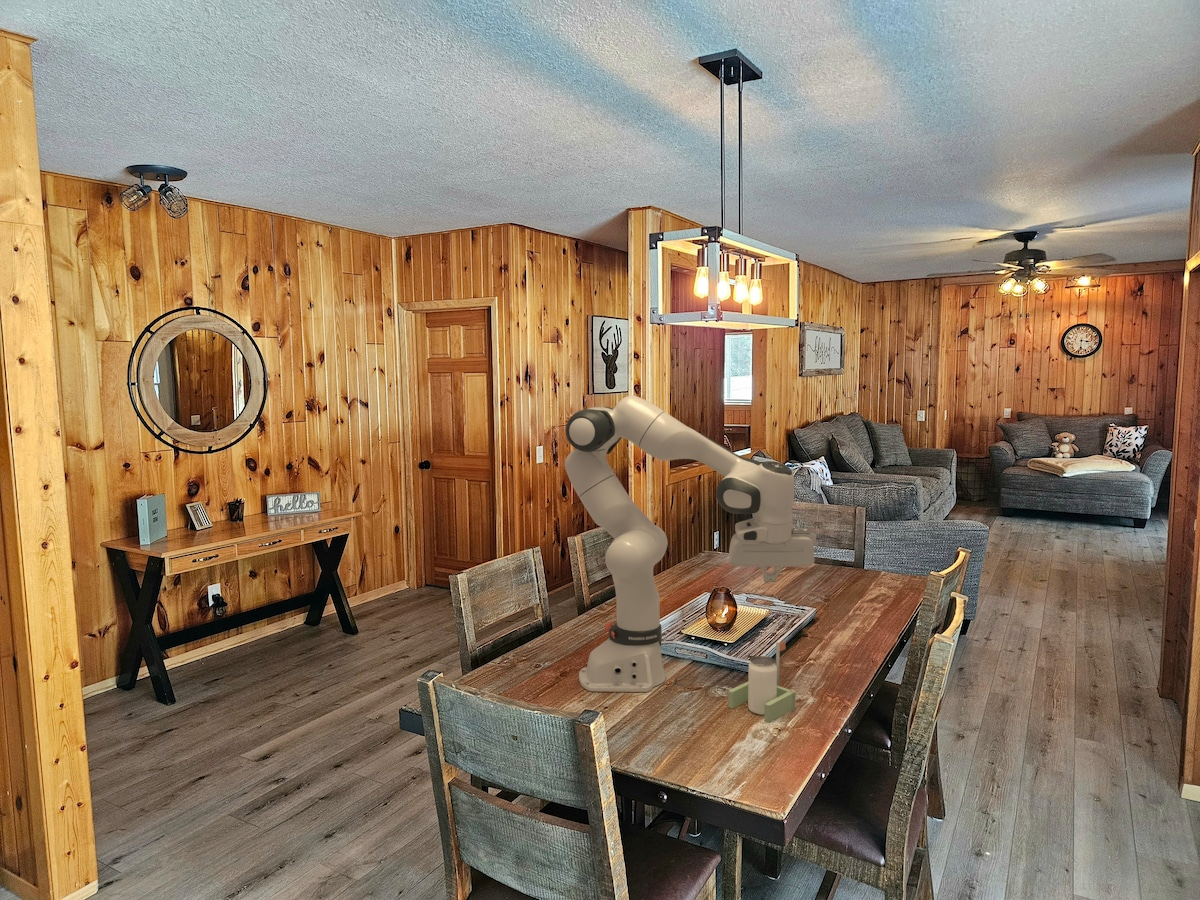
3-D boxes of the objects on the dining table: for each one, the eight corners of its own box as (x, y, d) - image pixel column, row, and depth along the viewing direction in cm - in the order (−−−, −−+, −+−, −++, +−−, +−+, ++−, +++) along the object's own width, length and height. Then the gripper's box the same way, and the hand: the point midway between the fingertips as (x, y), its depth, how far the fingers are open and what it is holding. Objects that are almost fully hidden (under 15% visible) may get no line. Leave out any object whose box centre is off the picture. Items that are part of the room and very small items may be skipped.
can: (778, 706, 184) (779, 657, 183) (773, 717, 178) (774, 667, 177) (750, 702, 187) (751, 653, 185) (745, 713, 181) (746, 663, 179)
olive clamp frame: (768, 722, 176) (769, 662, 174) (728, 707, 184) (728, 649, 183) (804, 702, 186) (805, 646, 184) (764, 688, 194) (765, 634, 193)
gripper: (813, 523, 189) (809, 575, 193) (728, 523, 190) (726, 575, 194) (820, 534, 183) (815, 587, 187) (732, 533, 184) (730, 587, 188)
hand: (769, 581), depth 191 cm, fingers closed
